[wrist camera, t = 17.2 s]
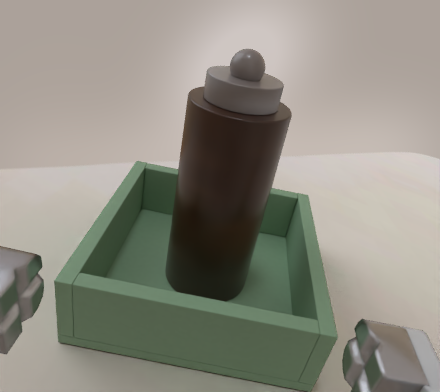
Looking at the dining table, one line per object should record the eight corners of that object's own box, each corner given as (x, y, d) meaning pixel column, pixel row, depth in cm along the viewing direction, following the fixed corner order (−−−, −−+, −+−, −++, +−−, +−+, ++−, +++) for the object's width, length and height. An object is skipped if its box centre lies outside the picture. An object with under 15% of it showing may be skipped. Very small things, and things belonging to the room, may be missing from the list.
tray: (58, 342, 19) (53, 280, 16) (133, 208, 29) (136, 160, 27) (310, 392, 19) (338, 337, 17) (293, 239, 29) (308, 195, 27)
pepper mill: (156, 294, 22) (186, 46, 15) (174, 241, 26) (203, 31, 19) (242, 312, 22) (312, 72, 15) (246, 256, 26) (301, 51, 19)
